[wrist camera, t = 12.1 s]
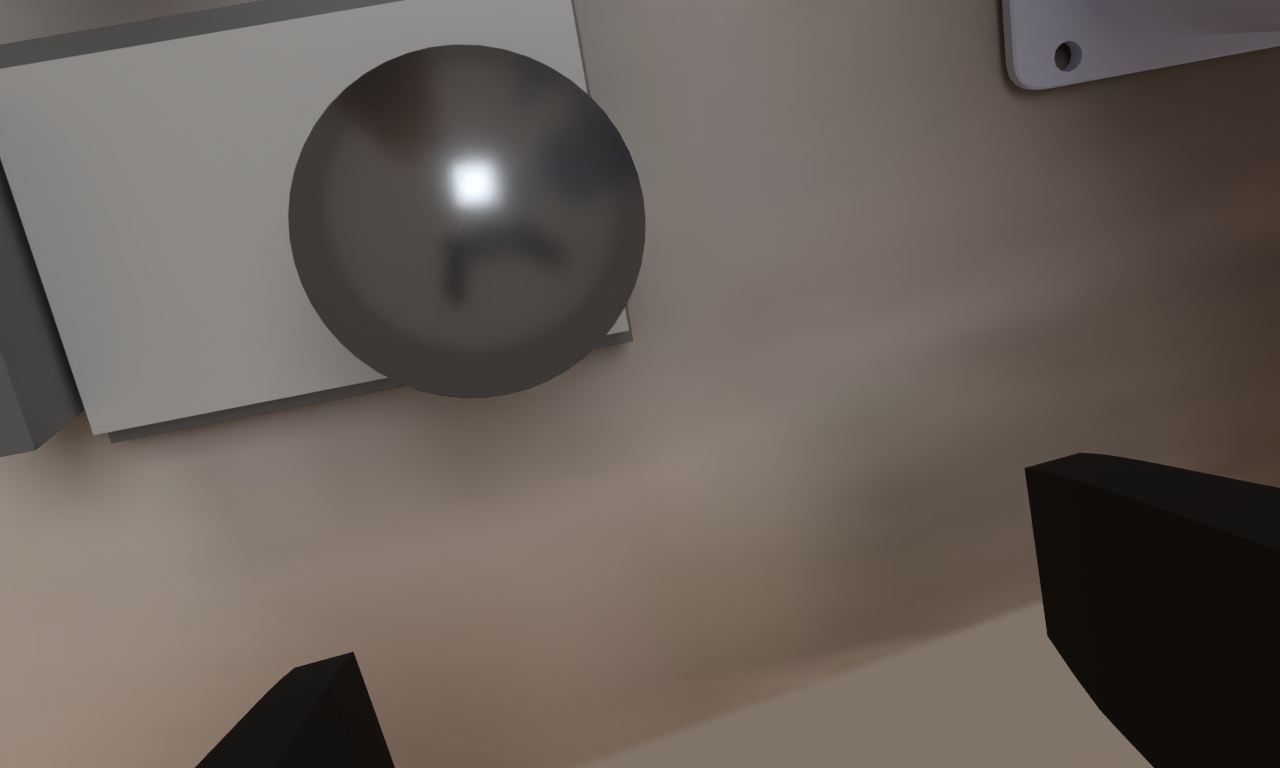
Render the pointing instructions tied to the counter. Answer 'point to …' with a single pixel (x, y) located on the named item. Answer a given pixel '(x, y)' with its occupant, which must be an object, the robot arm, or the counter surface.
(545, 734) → the counter surface
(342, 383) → the dial scale
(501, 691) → the counter surface
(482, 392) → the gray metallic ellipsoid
